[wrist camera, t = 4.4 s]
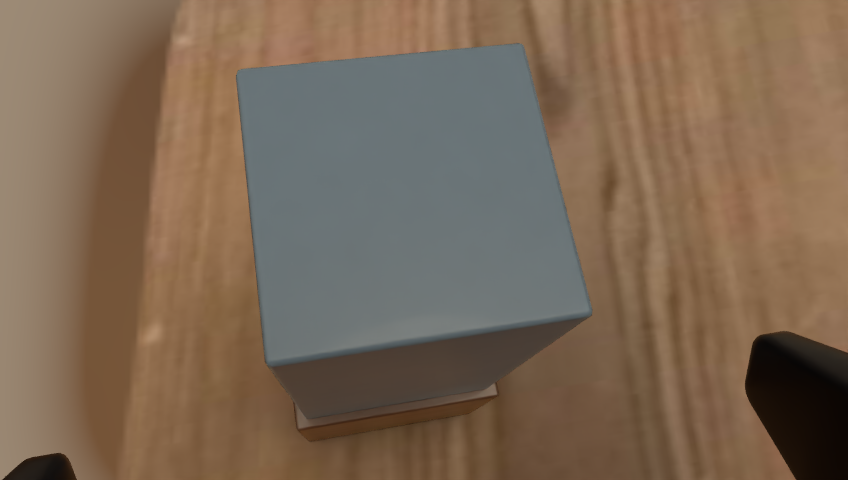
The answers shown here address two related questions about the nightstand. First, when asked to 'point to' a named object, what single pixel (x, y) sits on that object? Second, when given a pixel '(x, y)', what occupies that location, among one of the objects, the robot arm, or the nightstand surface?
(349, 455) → the nightstand surface
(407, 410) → the base block
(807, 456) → the robot arm
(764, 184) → the nightstand surface
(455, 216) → the top block
